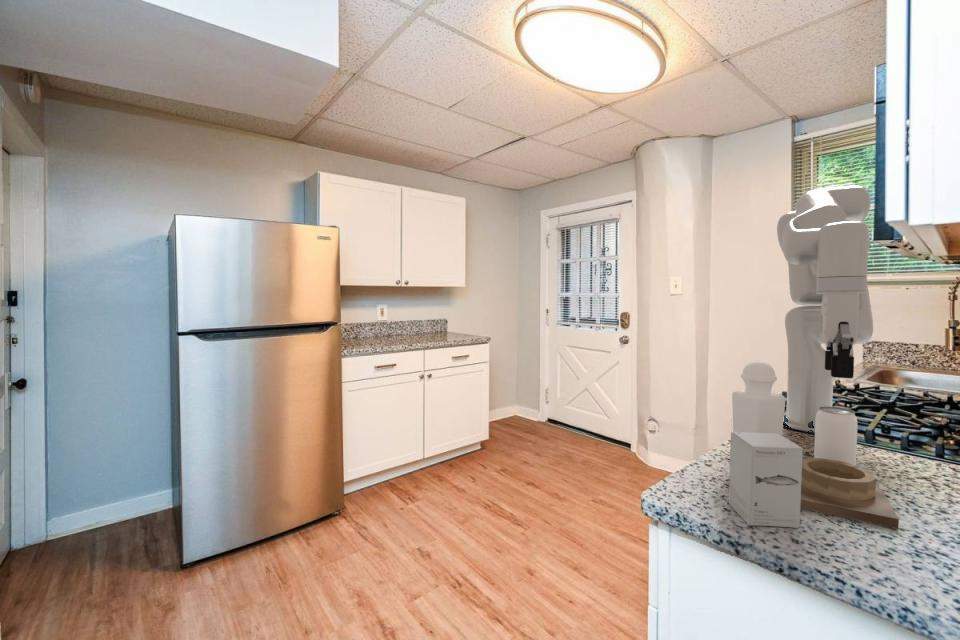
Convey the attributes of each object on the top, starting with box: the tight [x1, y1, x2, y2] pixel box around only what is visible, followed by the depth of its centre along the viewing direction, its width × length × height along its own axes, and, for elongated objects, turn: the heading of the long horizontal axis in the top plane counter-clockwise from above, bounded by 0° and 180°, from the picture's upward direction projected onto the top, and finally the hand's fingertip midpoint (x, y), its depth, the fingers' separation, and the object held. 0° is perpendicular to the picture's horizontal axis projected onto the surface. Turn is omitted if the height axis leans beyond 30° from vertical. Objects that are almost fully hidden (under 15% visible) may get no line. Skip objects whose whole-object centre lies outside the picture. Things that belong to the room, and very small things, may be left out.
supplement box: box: [728, 431, 804, 529], centre depth 68 cm, size 7×7×13 cm
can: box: [813, 405, 858, 466], centre depth 86 cm, size 6×6×12 cm
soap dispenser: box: [731, 360, 786, 436], centre depth 86 cm, size 6×6×22 cm
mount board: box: [800, 457, 900, 530], centre depth 75 cm, size 18×13×4 cm
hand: (838, 373), depth 85 cm, fingers open, 9 cm apart
